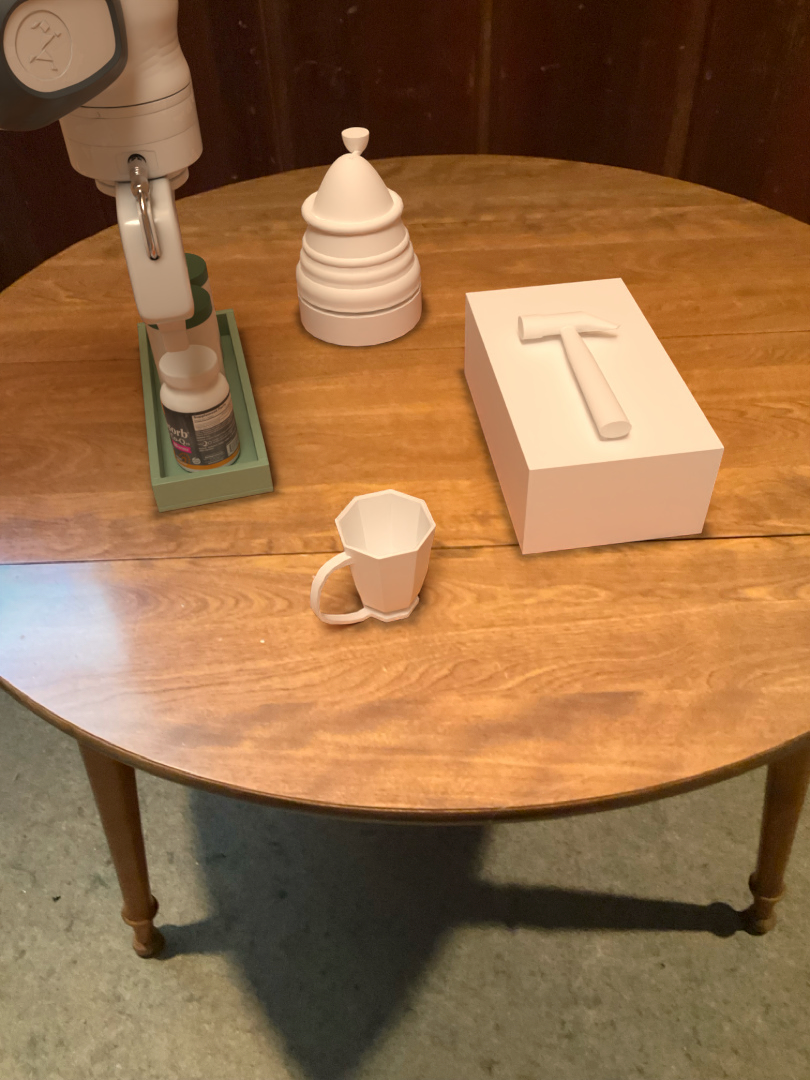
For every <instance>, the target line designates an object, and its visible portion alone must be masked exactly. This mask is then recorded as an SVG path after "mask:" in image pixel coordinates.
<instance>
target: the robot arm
mask: <svg viewBox="0 0 810 1080" xmlns="http://www.w3.org/2000/svg"><path fill="white" fill-rule="evenodd" d="M178 15H179V0H0V131H9V132H31V131H35V130H39V129H42V128H45V127H47V126H50V125H52V124H53V123H55V122H57V121H59V124H60V128H61V133H62V136H63V139H64V143H65V148H66V152H67V155H68V158H69V162H70V165H71V167H72V168H73V169H74V170H75V171H76V172H77V173H78V174H80V175H82V176H84V177H86V178H90V179H94V182H95V186H96V188H97V189H98V191H100V192H101V193H103V194H104V195H107V196H109V197H113V198H115V205H116V207H115V208H116V218H117V219H116V220H117V226H118V231H119V237H120V243H121V246H122V250H123V254H124V260H125V264H126V268H127V272H128V276H129V283H130V286H131V291H132V294H133V298H134V303H135V307H136V311H137V313H138V315H139V318H140V320H141V322H144V323H145V324H148V325H152V324H157V326H158V328H159V331H160V333H161V337H162V341H163V345H164V349H165V350H166V351H167V352H170V353H172V352H179V351H185V350H187V349H188V348H189V341H188V336H187V331H186V323H185V320H186V319H190V318H191V317H192V316H193V315H194V301H193V296H192V290H191V285H190V279H189V274H188V268H187V263H186V257H185V253H186V252H185V247H184V240H183V236H182V231H181V225H180V219H179V214H178V209H177V204H176V203H177V202H176V194H175V191H176V190H178V189H179V188H180V187H182V186H184V184H185V183H186V182H187V180H188V179H189V176H190V172H189V171H190V170H189V167H190V166H191V165H193V164H194V163H195V162H196V161H198V159H199V158H200V157H201V155H202V153H203V150H204V145H203V139H202V134H201V127H200V122H199V116H198V110H197V105H196V104H197V103H196V97H195V92H194V86H193V81H192V75H191V70H190V67H189V64H188V62H187V60H186V58H185V56H184V55H185V54H184V53H183V50H182V48H181V44H180V41H179V35H178V18H179V17H178Z"/></svg>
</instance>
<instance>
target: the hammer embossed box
mask: <svg viewBox="0 0 810 1080" xmlns="http://www.w3.org/2000/svg"><path fill="white" fill-rule="evenodd" d="M464 305H465V307H464V309H465V312H464V318H465V319H464V359H463V361H464V363H463V364H464V365H463V366H464V367H463V372H464V377H465V380H466V383H467V386H468V389H469V393H470V396H471V399H472V401H473V404H474V408H475V410H476V414H477V417H478V420H479V424H480V427H481V429H482V430H481V431H482V433H483V437H484V439H485V442H486V446H487V449H488V452H489V454H490V459H491V462H492V464H493V467H494V471H495V474H496V478H497V479H498V483H499V486H500V489H501V493H502V496H503V498H504V502H505V505H506V508H507V511H508V514H509V518H510V521H511V524H512V527H513V530H514V533H515V536H516V540H517V542H518V546H519V550H520V553H521V555H532V554H539V553H541V554H542V553H547V552H555V551H564V550H573V549H583V548H589V547H599V546H605V545H614V544H615V545H616V544H622V543H630V542H640V541H647V540H657V539H665V538H673V537H681V536H688V535H690V536H691V535H697V534H698V535H699V534H702V533H703V528H704V526H705V525H704V524H705V522H706V517H707V514H708V510H709V506H710V503H711V499H712V495H713V492H714V489H715V485H716V481H717V477H718V473H719V471H720V466H721V463H722V459H723V456H724V451H725V447H724V445H723V443H722V441H721V440H720V438H719V436H718V435H717V433H716V431H715V429H714V428H713V427H712V425H711V424H710V422H709V420H708V418H707V417H706V415H705V413H704V412H703V410H702V408H701V407H700V405H699V403H698V402H697V400H696V399H695V397H694V396H693V394H692V392H691V390H690V389H689V387H688V386H687V384H686V382H685V380H684V379H683V377H682V376H681V374H680V372H679V371H678V369H677V367H676V365H675V364H674V363H673V361H672V359H671V358H670V355H668V353H667V351H666V349H665V348H664V346H663V344H662V343H661V341H660V340H659V338H658V336H657V334H656V333H655V331H654V330H653V328H652V326H651V325H650V323H649V321H648V320H647V318H646V317H645V315H644V314H643V311H642V310H641V308H640V307H639V305H638V303H637V301H636V300H635V298H634V297H633V295H632V293H631V292H630V291H629V289H628V287H627V285H626V284H625V282H624V281H623V278H622V277H616V278H605V279H595V280H584V281H575V282H563V283H555V284H552V283H551V284H543V285H542V284H541V285H533V286H524V287H522V286H521V287H513V288H503V289H502V288H501V289H492V290H481V291H471V292H465V304H464Z"/></svg>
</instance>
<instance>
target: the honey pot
mask: <svg viewBox="0 0 810 1080" xmlns="http://www.w3.org/2000/svg"><path fill="white" fill-rule="evenodd" d="M341 139H342V141H343V144H344V146H345V148H346V150H347V151H348V152H349V153H345V154H343V155H341V156H339V157H338V158H336V159H335V161H333V163H332V164H331V165H330V167H329V168H328V169H327V172H326V173H325V175H324V177H323V179H322V181H321V182H320V185H319V187H318V190H316V191H315V192H313V193H311V194H310V195H308V197H307V198H305V199H304V201H303V203H302V205H301V208H300V210H301V217H302V219H303V221H305V223H306V224H307V226H306V230H305V232H304V234H303V236H302V238H301V249H300V251H299V260H298V262H297V264H296V265H295V281H296V289H297V298H298V299H297V300H298V307H299V314H300V322H301V324H302V326H303V328H304V329H305V331H307V332H308V333H309V334H310V335H312V336H313V337H314V338H316V339H318V340H321V341H323V342H325V343H328V344H333V345H337V346H347V347H367V346H375V345H379V344H383V343H389V342H391V341H393V340H396V339H399V338H401V337H403V336H404V335H406V334H407V333H409V332H411V331H412V330H413V329H414V328H415V327H416V325H417V324H418V323H419V322H420V320H421V316H422V313H423V312H422V311H423V307H422V282H421V281H422V277H421V272H422V269H421V265H420V260H419V257H418V255H417V254H416V252H415V249H414V246H413V242H412V241H411V237H410V233H409V229H408V228H407V227H406V225H405V224H404V222H403V220H402V217H401V216H402V214H403V211H404V208H405V207H404V203H403V199H402V197H401V196H400V195H399V194H398V193H397V192H396V191H394V190H392V189H390V188H389V187H387V185H386V183H385V182H384V180H383V178H382V177H381V175H380V174H379V173H378V171H377V170H376V169H375V168H374V166H373V165H372V164H371V163H370V162H369V161H368V160H367V159H365V158H364V157H363V156H361V155H362V154H363V152H364V151H365V150H366V148H367V147H368V143H369V141H370V140H369V139H370V131H369V130H368V129H367V128H365V127H358V126H357V127H356V126H355V127H349V128H346V129H343V130H342V131H341Z"/></svg>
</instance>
